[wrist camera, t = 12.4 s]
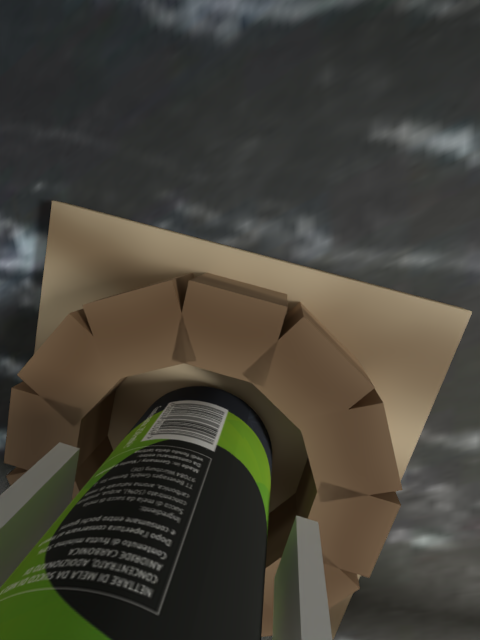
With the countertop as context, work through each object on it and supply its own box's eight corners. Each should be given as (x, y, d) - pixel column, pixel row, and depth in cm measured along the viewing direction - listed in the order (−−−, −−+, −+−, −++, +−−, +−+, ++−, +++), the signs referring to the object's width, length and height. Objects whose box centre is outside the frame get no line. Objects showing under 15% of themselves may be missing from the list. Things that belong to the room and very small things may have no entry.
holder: (65, 202, 16) (-3, 191, 12) (460, 307, 15) (520, 330, 11) (25, 520, 21) (-35, 585, 17) (330, 619, 19) (342, 713, 16)
